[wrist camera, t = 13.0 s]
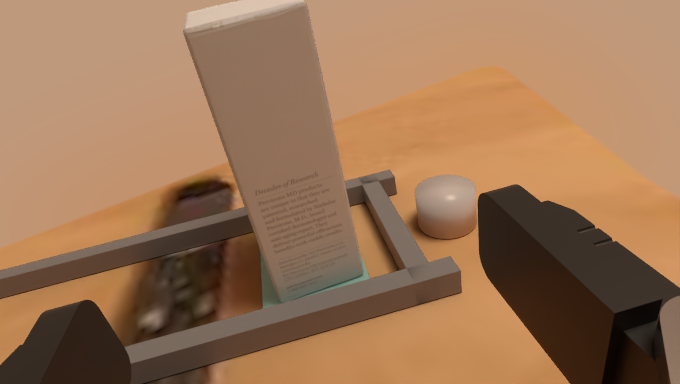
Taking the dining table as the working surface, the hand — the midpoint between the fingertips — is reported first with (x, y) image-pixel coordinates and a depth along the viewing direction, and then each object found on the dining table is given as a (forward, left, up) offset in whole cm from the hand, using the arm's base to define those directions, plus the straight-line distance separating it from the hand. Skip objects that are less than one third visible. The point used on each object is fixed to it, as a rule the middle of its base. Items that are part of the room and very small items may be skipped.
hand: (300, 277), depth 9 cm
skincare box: (0, +11, -8) cm, 13 cm away
